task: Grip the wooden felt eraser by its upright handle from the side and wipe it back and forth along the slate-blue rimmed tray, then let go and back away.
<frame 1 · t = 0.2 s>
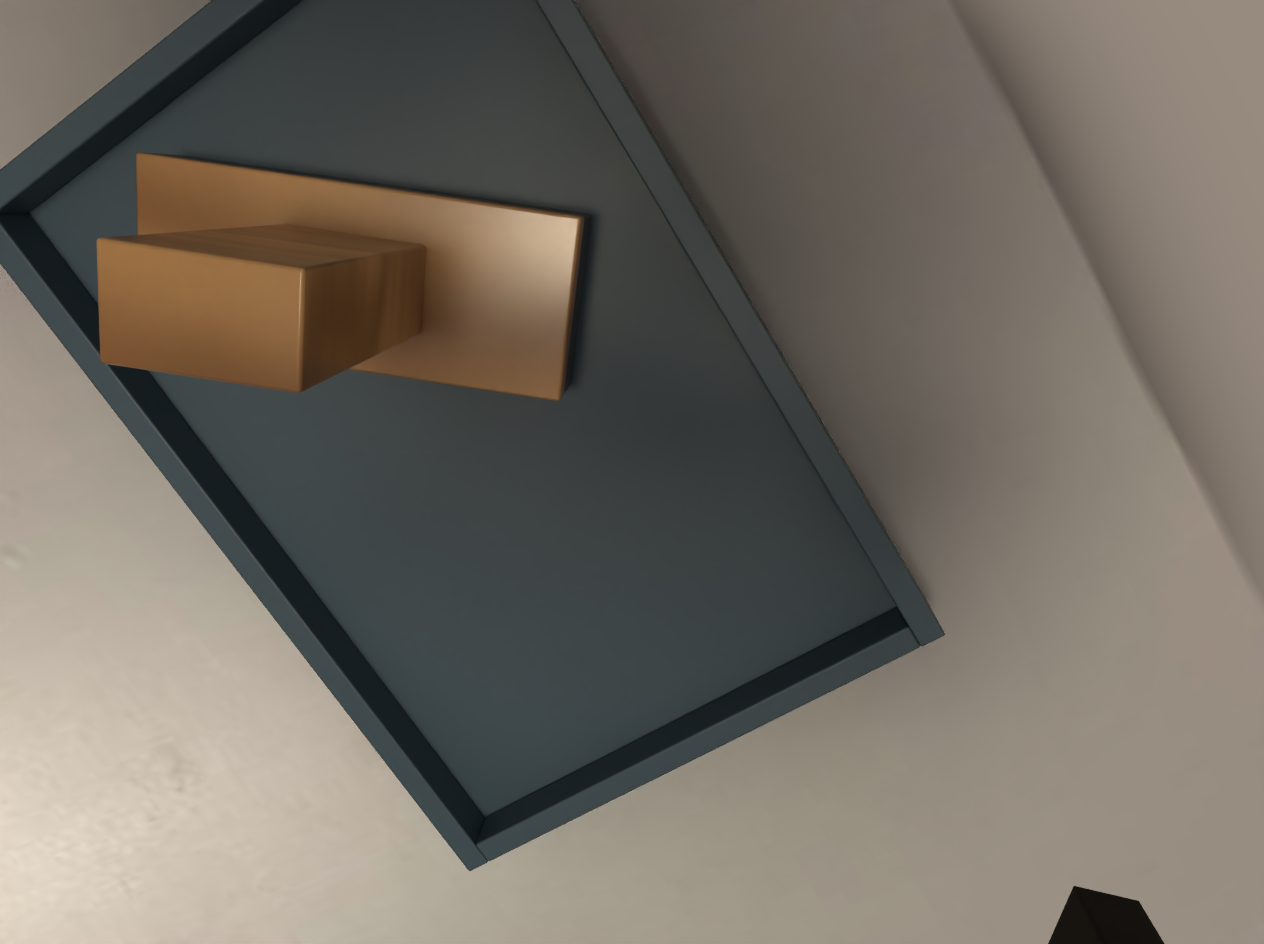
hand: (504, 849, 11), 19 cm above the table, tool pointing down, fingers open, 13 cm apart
tray: (481, 408, 29), on the table
eraser: (379, 272, 27), point 1 cm above the table, touching tray
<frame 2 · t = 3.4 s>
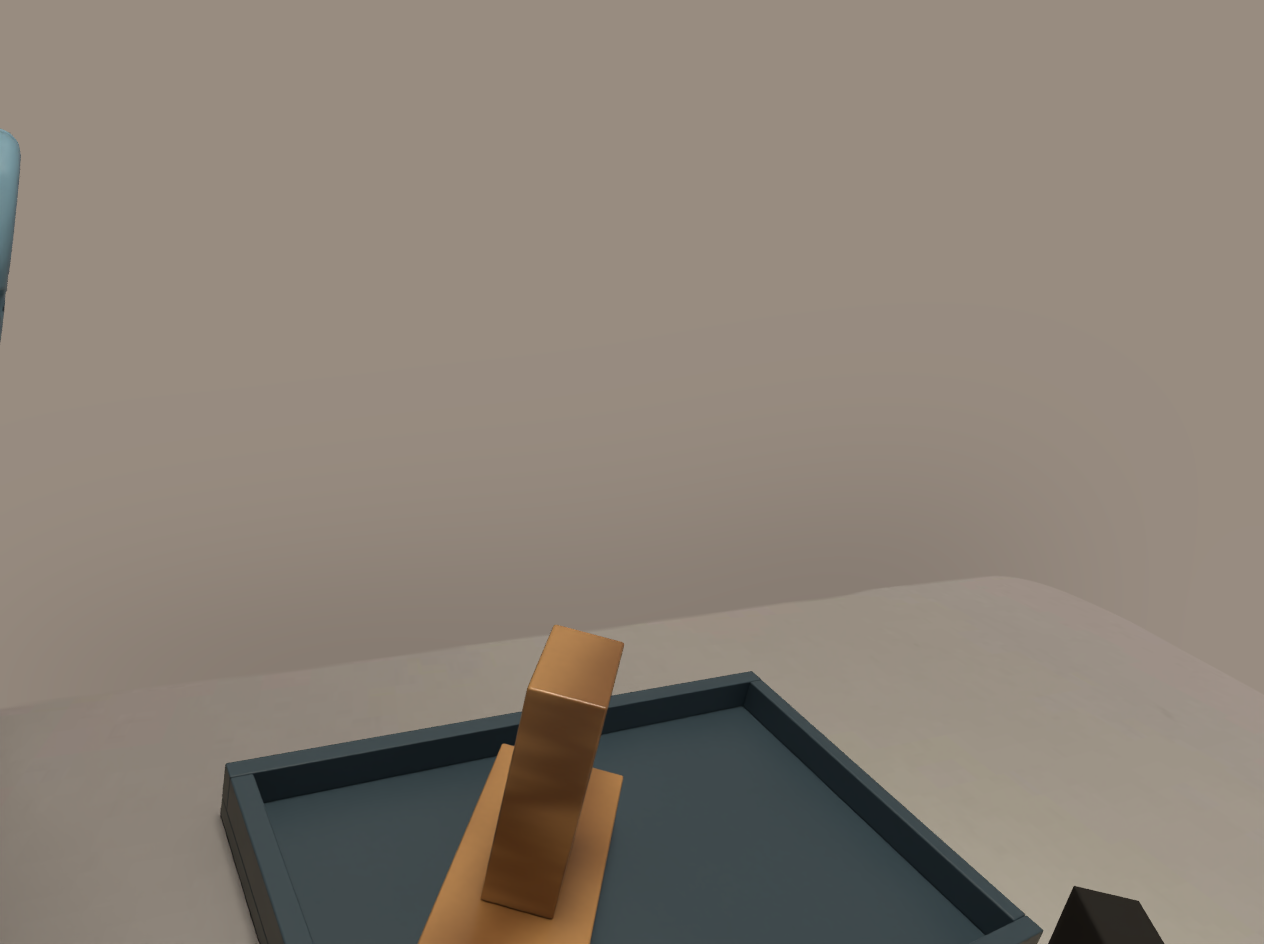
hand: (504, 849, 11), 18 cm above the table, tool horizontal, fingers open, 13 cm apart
tray: (630, 896, 35), on the table
eraser: (517, 917, 32), point 1 cm above the table, touching tray
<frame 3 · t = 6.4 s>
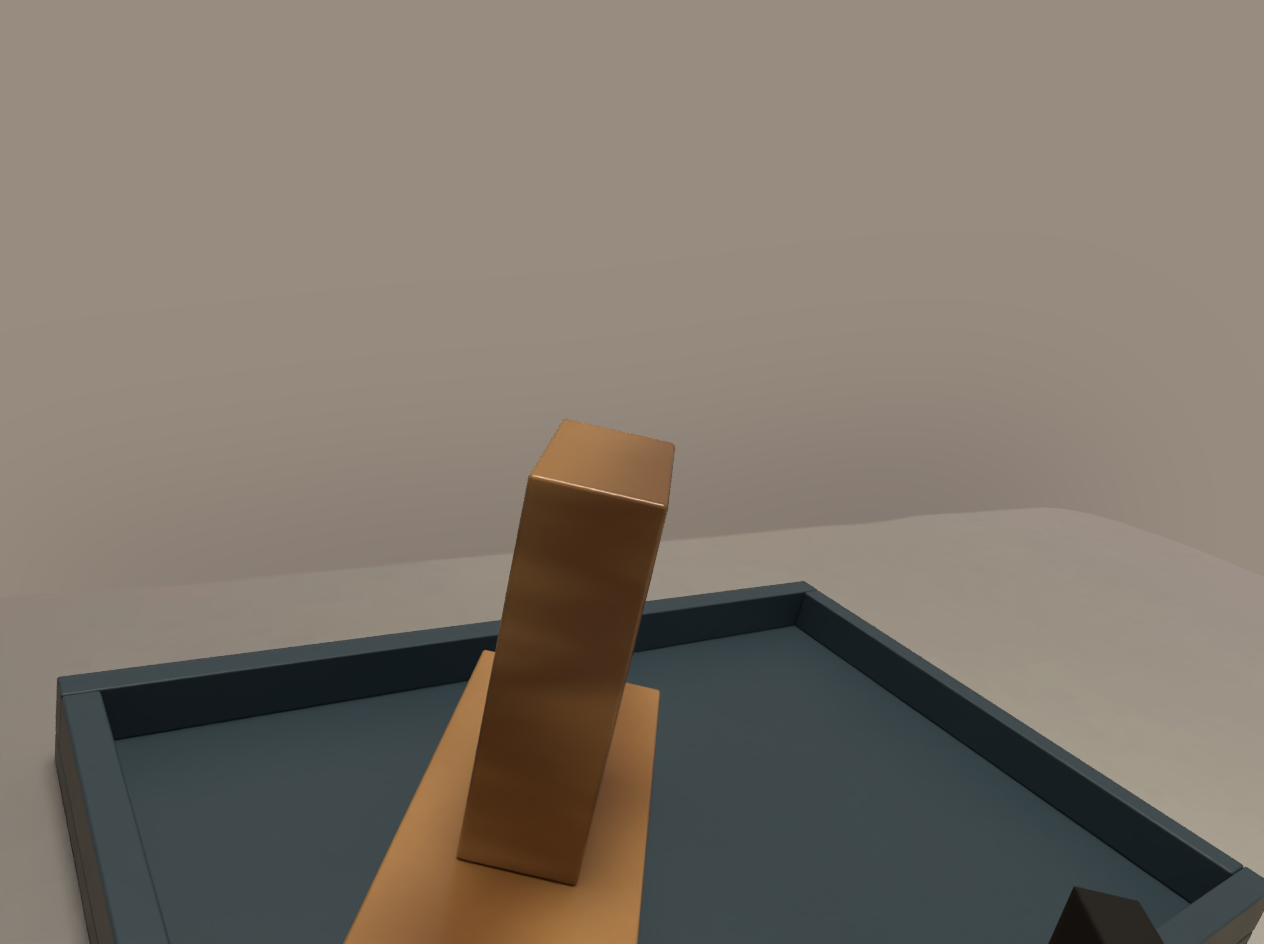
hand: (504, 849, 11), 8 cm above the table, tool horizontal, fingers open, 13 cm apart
tray: (680, 861, 24), on the table
eraser: (515, 893, 21), point 1 cm above the table, touching tray
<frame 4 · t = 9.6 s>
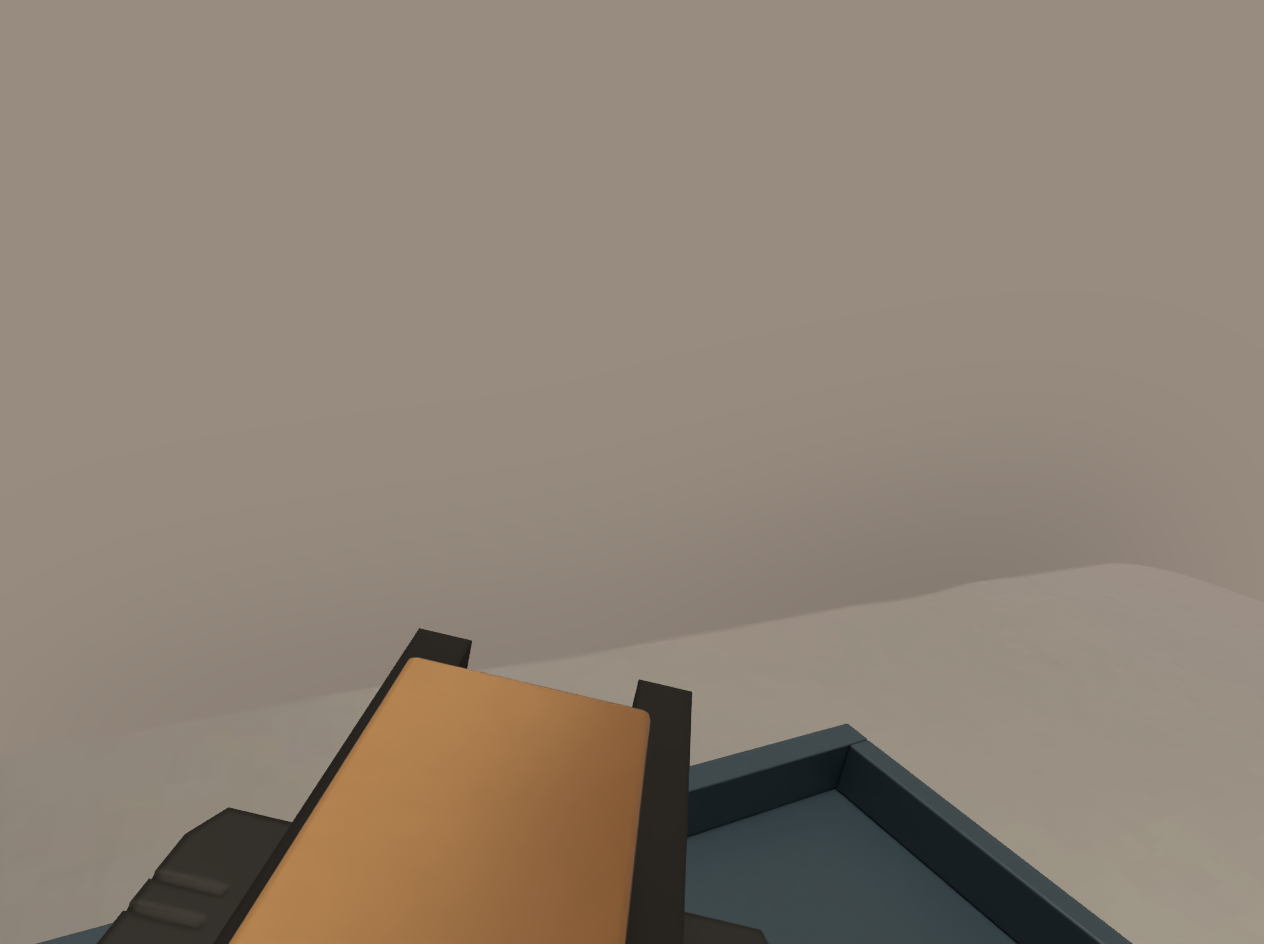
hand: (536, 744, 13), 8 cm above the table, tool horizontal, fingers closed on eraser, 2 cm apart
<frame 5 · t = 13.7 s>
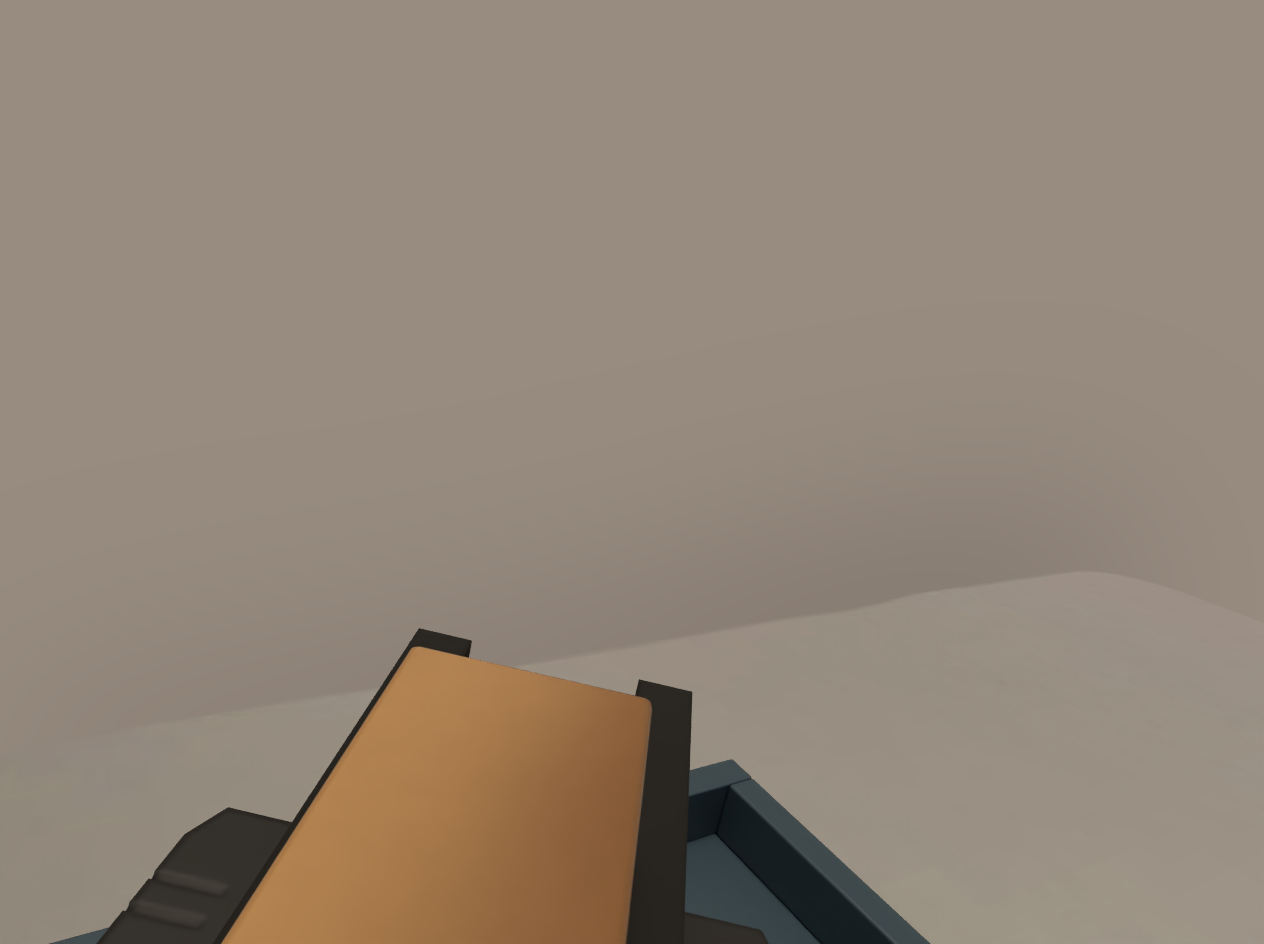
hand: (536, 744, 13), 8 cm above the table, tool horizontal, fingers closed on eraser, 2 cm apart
when the fingers open (8 cm above the table, at t = 17.8 s): eraser stays where it is, resting on tray.
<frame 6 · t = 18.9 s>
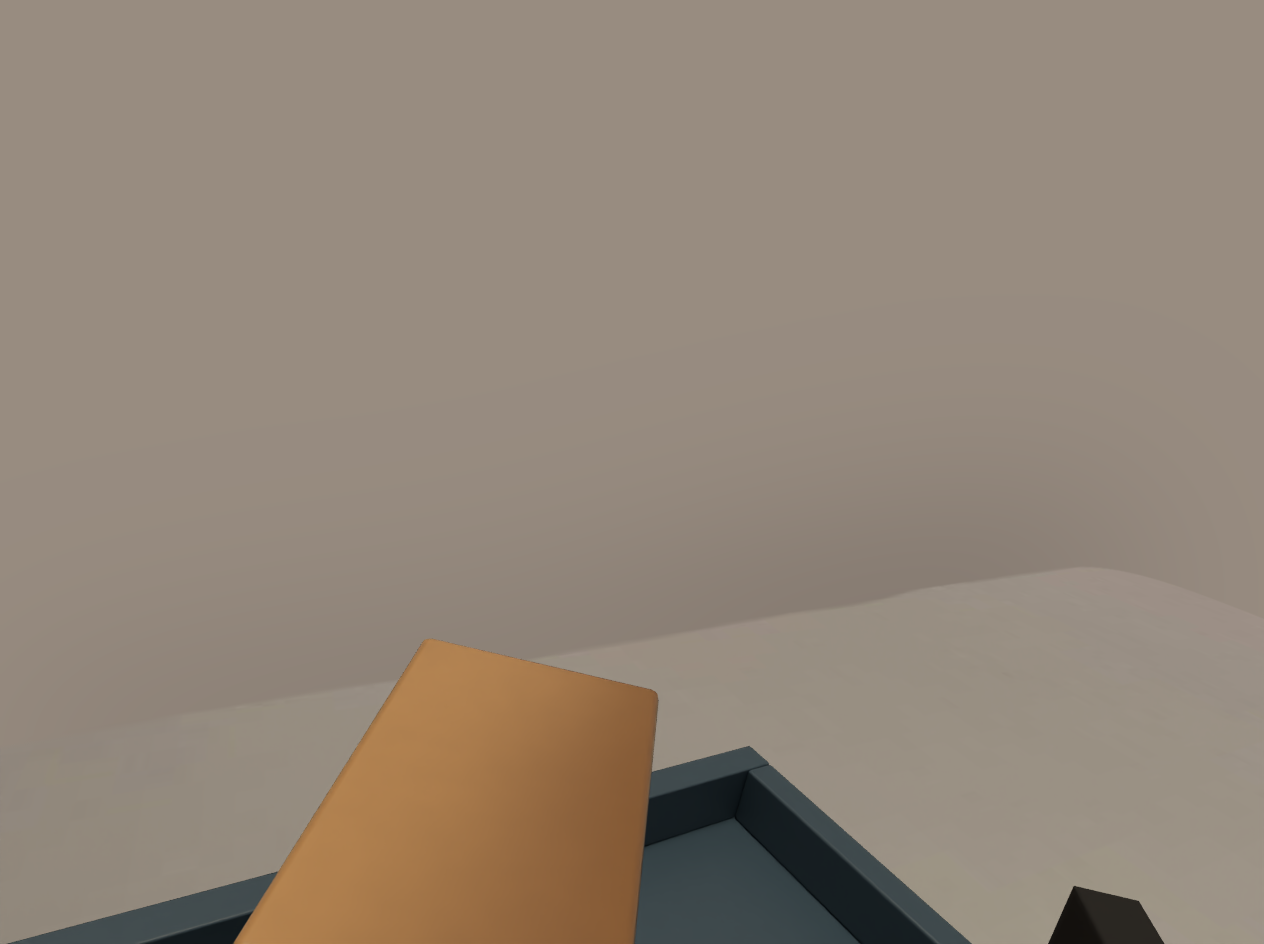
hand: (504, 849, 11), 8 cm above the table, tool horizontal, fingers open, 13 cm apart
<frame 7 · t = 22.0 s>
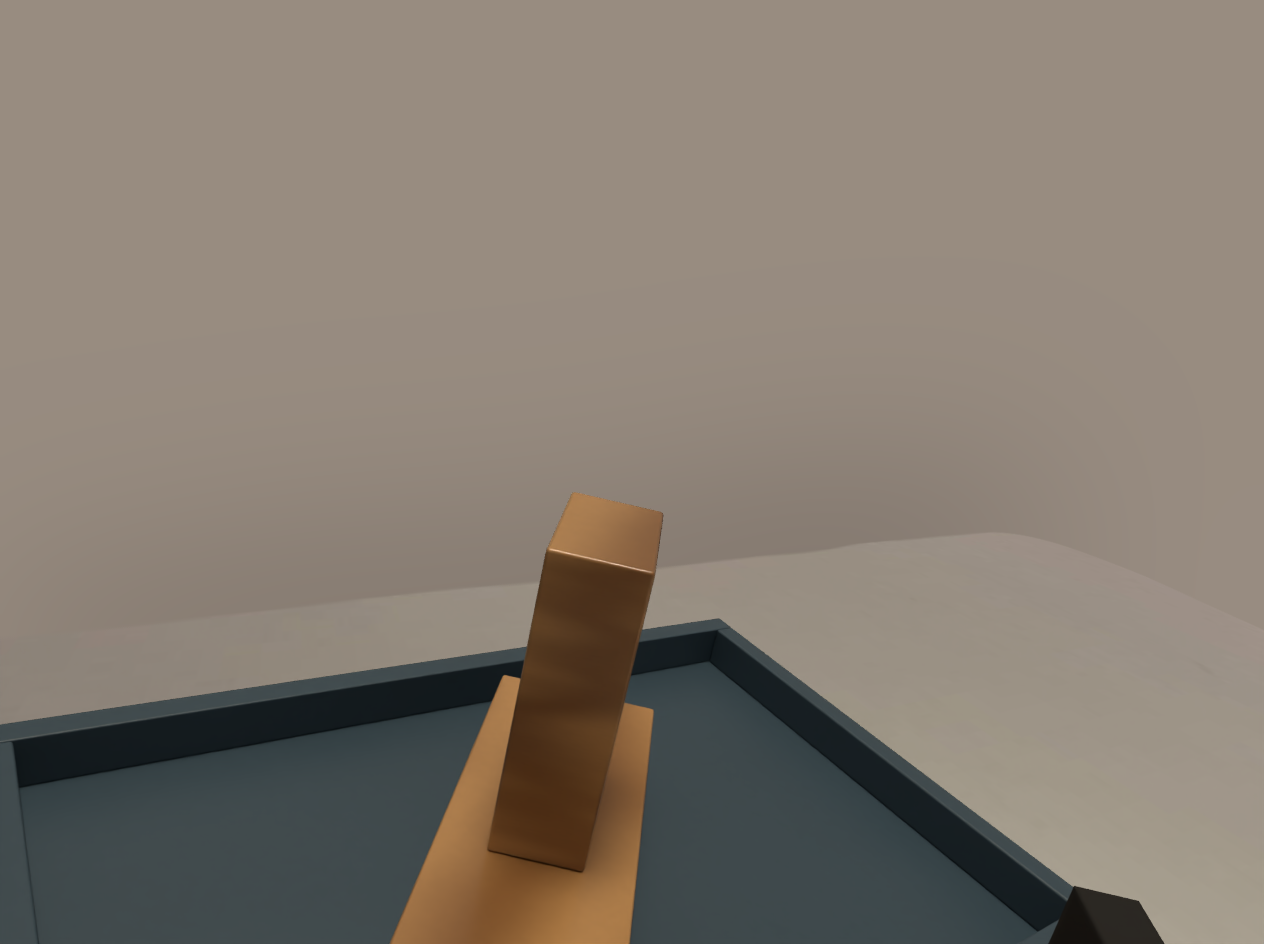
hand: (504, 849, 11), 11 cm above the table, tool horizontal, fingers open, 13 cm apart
tray: (557, 896, 26), on the table
eraser: (532, 880, 25), point 1 cm above the table, touching tray
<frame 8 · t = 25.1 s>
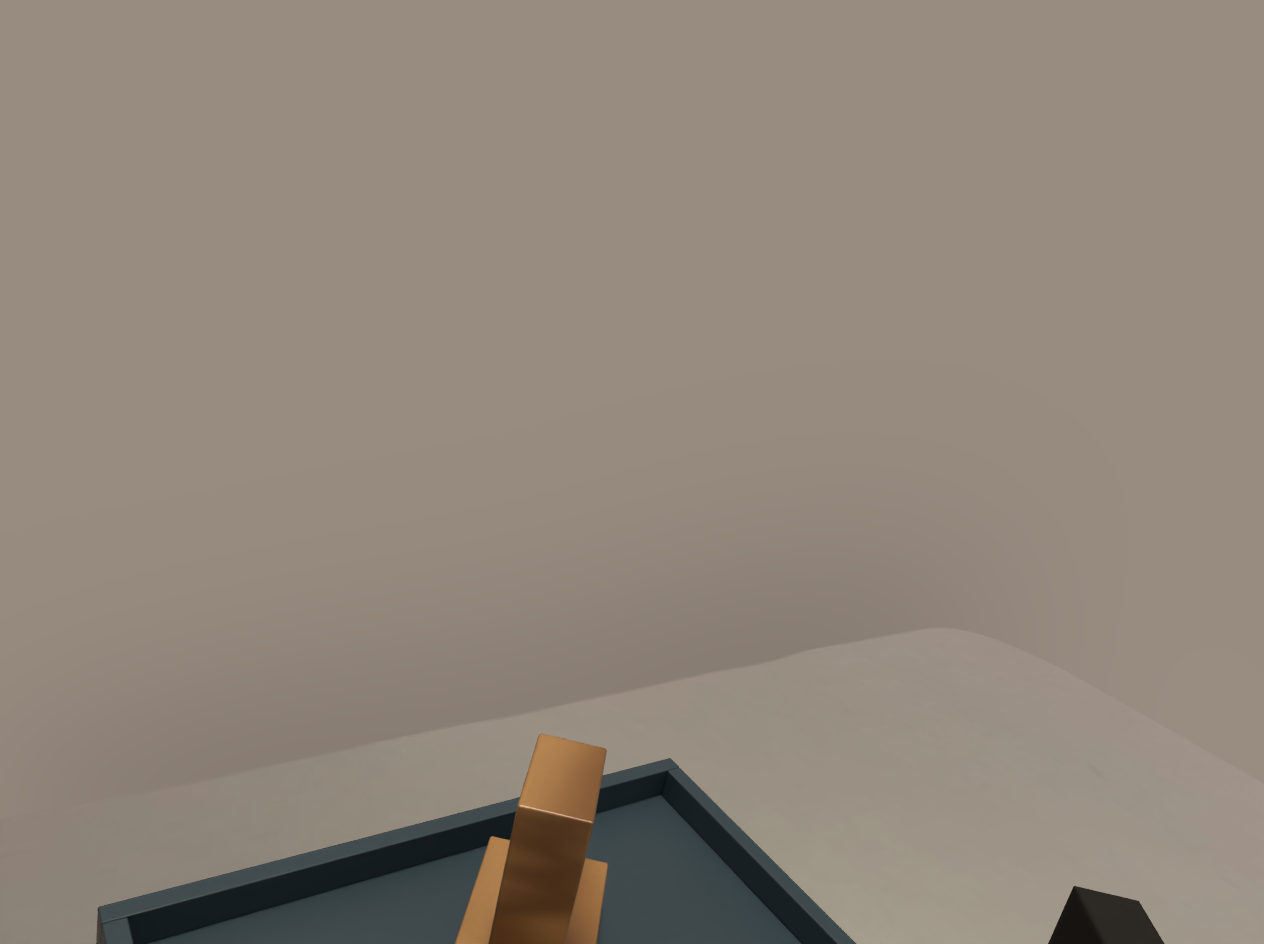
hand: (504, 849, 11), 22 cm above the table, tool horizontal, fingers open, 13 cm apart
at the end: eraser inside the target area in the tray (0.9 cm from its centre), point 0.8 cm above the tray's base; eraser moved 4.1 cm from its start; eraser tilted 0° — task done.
